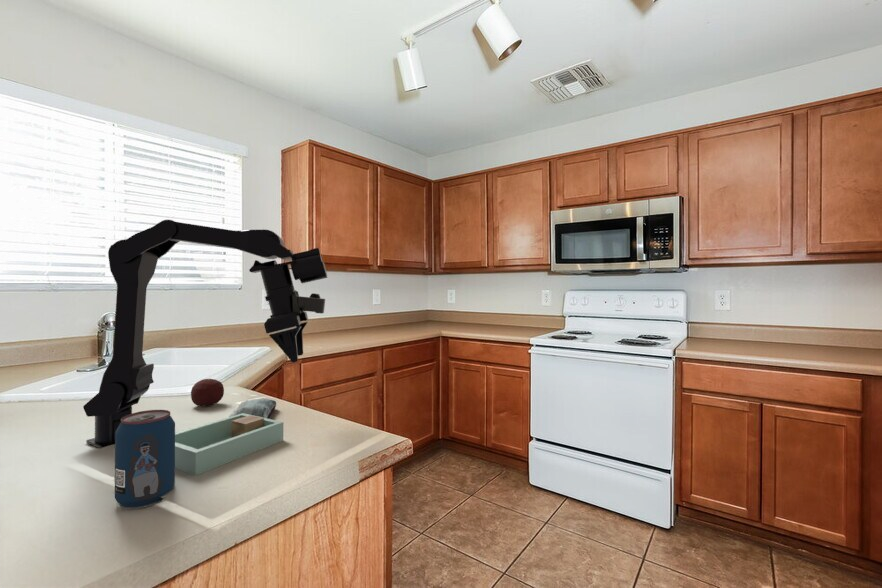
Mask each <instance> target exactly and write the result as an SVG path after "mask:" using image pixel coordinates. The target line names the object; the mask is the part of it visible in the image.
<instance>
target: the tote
mask: <svg viewBox="0 0 882 588" xmlns="http://www.w3.org/2000/svg"><path fill="white" fill-rule="evenodd" d="M246 416H249V414H245V413H242V414H238V415H235V416H231V417H229V416H228V417H225V418H221V419H218V420H215V421H212V422H208V423H205V424H201V425H197V426H194V427H192V428H187V429H184V430H183V429H182V430H181V431H177V432H176V431H175V469H177V470H180V471H182V472H186V473H188V474H191V475H194V476H198V475H200V474H202V473H205V472H208V471H210V470H212V469H215V468H217V467H220V466H222V465H224V464H227V463H230V462H232V461H235V460H238V459H240V458H243V457H246V456H248V455H250V454H252V453H255V452H257V451H260V450H262V449H265V448H268V447H271V446H273V445H275V444H277V443H280V442H282V441H284V421H280V420H275V419H271V418H268V419H267V418H264V427H262V428H259V429H256V430H253V431H250V432H247V433H244V434H241V435H239V436H236V437H233V438H232V421H233V420H236V419H239V418H243V417H246ZM251 416H254V415H251ZM256 417H258V416H256ZM260 418H263V417H260Z"/></svg>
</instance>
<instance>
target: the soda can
mask: <svg viewBox="0 0 882 588" xmlns="http://www.w3.org/2000/svg"><path fill="white" fill-rule="evenodd" d="M175 433H176V422H175V420H174V418H173V417H172V415H171V411H170V410H166V409H148V410H142V411H137V412H132V414H129V415H126V416H124V417H122V418H121V423H120V425H119V427H118V428H117V430H116V432H115V444H114V500H115V501H116V502H117V504H118V505H119V506H120V507H121V508H122V509H127V510H139V509H144V508H147V507H151V506H154V505H156V504H158V503H161V502H163V501H164V500H165V498H164V497H163V496H165V495H167V494H168V493H169V492H171V491H172V490H173V488H174V487H175V484H176V468H175Z"/></svg>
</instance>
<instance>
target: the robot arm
mask: <svg viewBox="0 0 882 588" xmlns="http://www.w3.org/2000/svg"><path fill="white" fill-rule="evenodd" d="M179 242H182V243H183V242H184V243H191V244H197V245H204V246H212V247H219V248H225V249H233V250H238V251H241V252H244V253H247V254H250V255H254V256H257V257H260V258H264V259H266V260H269V261H265V262H261V261H259V260H254V262H253V265H251V267H250V268H249V269H248V271H249V273H253V274H256V273H260V275H261V278H262V279H261V280H262V283H263V286H264V291H265V295H266V296H264V298H265V302H268V305H269V309H270V312H271V314H270V317H269V318H267V319H266V320H265V322H264V324H263V326H264V330H265V333H266V334H268V336H269V338H271V339H272V341H274V342H275V343H276V345H277V346H278V347H279V348H280V350H281V351H282V352H283V353H284V354H285V356H287V358H288V359H289V360H290V361H291V363H292V364H293V363H296V362H298V361H299V356H303V355H304V329H305V328H306V326H307V324H308V323H309V322H308V321H309V316H308V312H311V313H312V312H313V313H315V314H324V312H325V307H326V298H321V296H320V294H319V293H311V294H310V295H309V296H300V294H299V291H297V289H296V290H295V287H294V282H293V279H294V280H295V281H299V282H300V283H301V284H307V283H311V282H315V281H318V280H323V279H327V278H328V274H327V273H328V272H327V270H326V265H325V262H324V260H323V258H322V254H321V250H320V249H319V247H315V248H312V249H309V250H305V251H301V252H295V253H294V252H293V250H291V249H288V248H287V247H285V242H284V240H283V239H282V238H281V236H279V235H278V234H277V233H276V232H274V231H272V230H270V229H243V230H242V229H241V230H232V229H226V228H225V229H224V228H219V227H214V226H205V225H199V224H192V223H187V222H186V223H184V222H179V221H175V220H173V219H163V220H161V221H159V222H158V223H156V224H154V225H153V226H151V227H149V228H146V229H144V230H142V231H139V232H137V233H134V234H132V235H131V236H130V237H128V238H126V239H120V240H118V241H116V242H114V243H113V244H110V246H109V249H108V251H107V255H108V256H107V257H108V264H109V270H110V272H111V275H112V277H113V280H114V282H115V283H116V297H115V298H116V299H115V301H116V302H115V313H114V314H115V315H114V331H113V344H112V345H113V347H112V358H111V360H110V362H109V364H107V365H108V366H107V367H106V369H105V370H104V372H103V374H102V378H101V382H100V386H99V388H98V389H99V390H98V393H97V394H95V395H94V396H93V397H92V398H91V399H90V400H89V401H87V402H86V403H85V404H84V405H83V406H82V407H83V411H84V412H85V415H86V417H94V438H89V439H87V440H86V444H88V445H91V446H94V447H96V448H99V449H102V448H106V447H109V446H113V445H115V432H116V430H117V428H118V427H119V425H120V423H121V418H122V417H124V416H126V415H129V414H132V413H133V406H134V405H137V404H138V403H139V401H140V399H141V397H142V396H143V395H145V394H146V393H147V392H148V391H149V389H150V385H151V384H153V383H154V382H155V381H154V380H153V371H154V369H155V367H154V366H155V365H154V363H148V364H147V362H146V360H145V358H144V355H143V345H144V331H145V317H146V300H147V288H148V285H149V284H150V281H151V280H152V278H153V277H154V275H155V271H156V268H157V264H158V259H160V258H162V257H163V256H165V255H167V253H169V252H170V250H172V248H173V247H174V246H175V245H176V244H178V243H179ZM276 259H281V260H284V261H286V262H282V263H281V262H280V263H278V262H277V260H276ZM289 266H290V267H291V271H290V268H289ZM291 272H292V275H291ZM292 276H293V277H292ZM292 278H293V279H292ZM304 321H305V322H304Z"/></svg>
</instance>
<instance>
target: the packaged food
mask: <svg viewBox="0 0 882 588" xmlns="http://www.w3.org/2000/svg"><path fill="white" fill-rule="evenodd" d="M276 406H277V401H276V400H273V399H269V398H264V397H263V398H253V399H248V400H244V401H242V402H241V403H240V404H239V405H238V407H237V408H236V409H234V411H232V413H231V414H230V415H228V417H231V416H235V415H238V414H242V413H245V414H249V415H254V416H258V417H263V418H267V419H270V416H271V415H272V414H273V412H274V411H275V409H276Z"/></svg>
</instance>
